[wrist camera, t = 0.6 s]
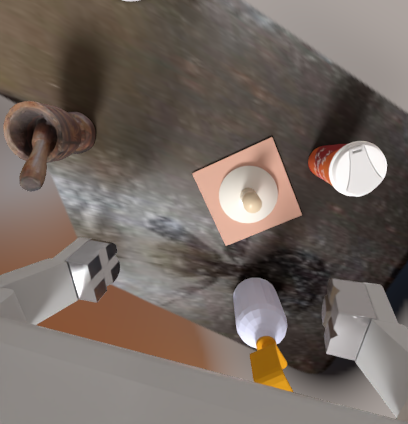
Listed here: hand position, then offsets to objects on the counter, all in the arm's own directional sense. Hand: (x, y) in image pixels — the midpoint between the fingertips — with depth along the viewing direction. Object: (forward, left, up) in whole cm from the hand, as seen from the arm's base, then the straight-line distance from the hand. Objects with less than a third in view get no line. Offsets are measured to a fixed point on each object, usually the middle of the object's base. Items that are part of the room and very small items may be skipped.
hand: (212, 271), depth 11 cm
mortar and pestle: (-14, -21, -43) cm, 50 cm away
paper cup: (+8, +18, -43) cm, 48 cm away
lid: (+8, +3, -43) cm, 44 cm away
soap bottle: (+29, -4, -43) cm, 52 cm away
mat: (+8, +3, -43) cm, 44 cm away
